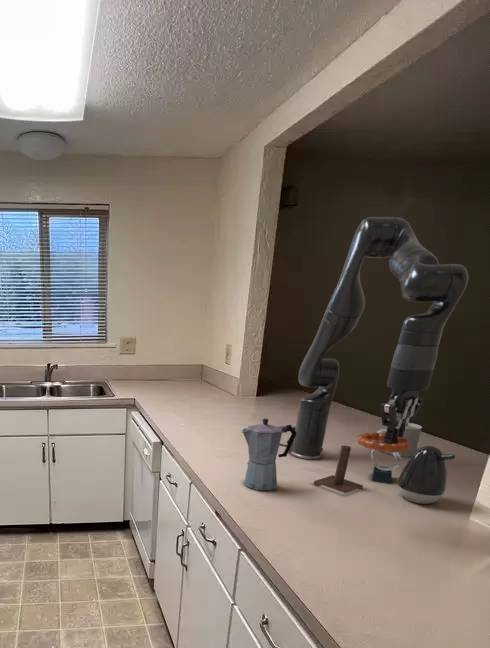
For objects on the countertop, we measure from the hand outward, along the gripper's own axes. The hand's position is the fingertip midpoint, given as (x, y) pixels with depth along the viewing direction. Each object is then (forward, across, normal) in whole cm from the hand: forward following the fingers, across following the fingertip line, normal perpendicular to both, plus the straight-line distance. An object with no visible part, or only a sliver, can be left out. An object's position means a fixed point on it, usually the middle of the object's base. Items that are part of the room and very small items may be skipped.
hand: (392, 442), depth 99 cm
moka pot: (+20, +5, -28) cm, 35 cm away
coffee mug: (+21, -60, -26) cm, 68 cm away
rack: (+20, -13, -17) cm, 29 cm away
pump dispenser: (+20, -23, -1) cm, 30 cm away
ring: (-1, +4, 0) cm, 4 cm away
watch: (+21, -30, -14) cm, 39 cm away
